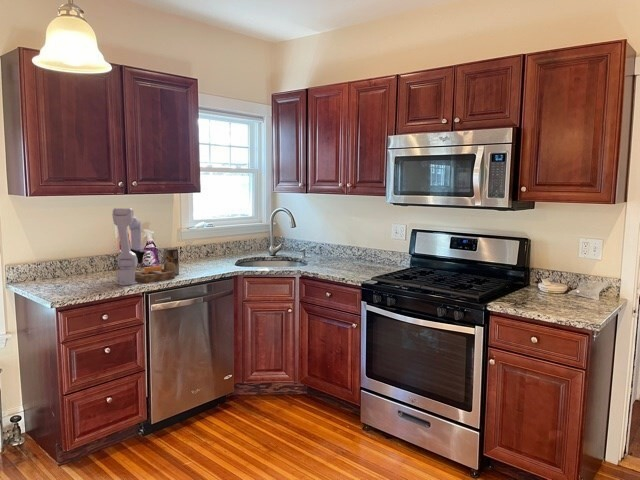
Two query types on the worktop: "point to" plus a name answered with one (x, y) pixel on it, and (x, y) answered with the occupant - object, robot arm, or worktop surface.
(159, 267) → the orange arch block
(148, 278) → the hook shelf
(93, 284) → the worktop surface
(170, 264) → the coffee box
